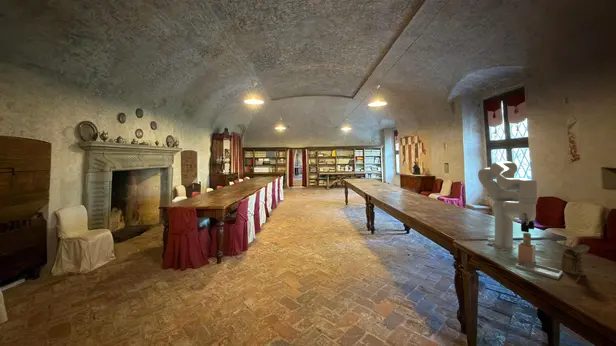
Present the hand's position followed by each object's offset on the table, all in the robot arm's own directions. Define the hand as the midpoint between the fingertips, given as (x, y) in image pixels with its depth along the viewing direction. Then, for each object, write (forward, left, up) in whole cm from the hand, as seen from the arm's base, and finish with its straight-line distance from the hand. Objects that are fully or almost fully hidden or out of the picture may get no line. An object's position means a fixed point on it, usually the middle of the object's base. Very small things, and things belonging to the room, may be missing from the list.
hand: (527, 230), depth 131 cm
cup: (0, 0, -19) cm, 19 cm away
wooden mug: (+18, +1, -19) cm, 26 cm away
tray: (+7, -10, -19) cm, 22 cm away
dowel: (0, 0, -18) cm, 18 cm away
